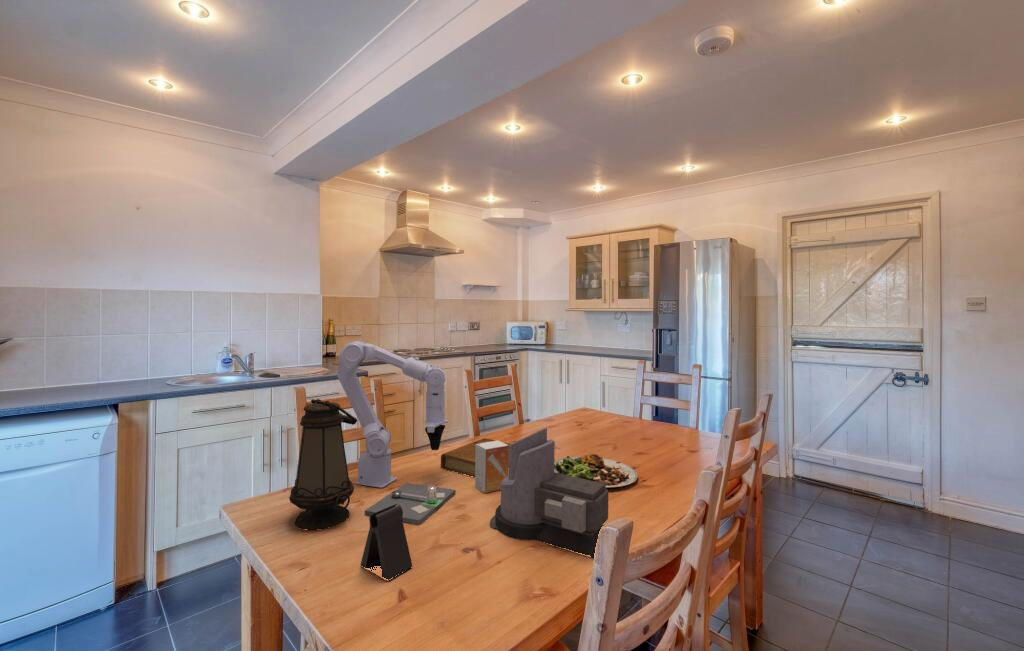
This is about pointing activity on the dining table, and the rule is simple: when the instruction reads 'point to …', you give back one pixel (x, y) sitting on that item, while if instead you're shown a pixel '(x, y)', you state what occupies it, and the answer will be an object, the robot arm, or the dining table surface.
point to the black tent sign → (387, 543)
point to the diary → (463, 458)
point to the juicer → (548, 500)
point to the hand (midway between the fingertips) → (435, 449)
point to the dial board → (413, 503)
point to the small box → (491, 465)
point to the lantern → (322, 468)
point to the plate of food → (596, 470)
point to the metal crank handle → (430, 495)
